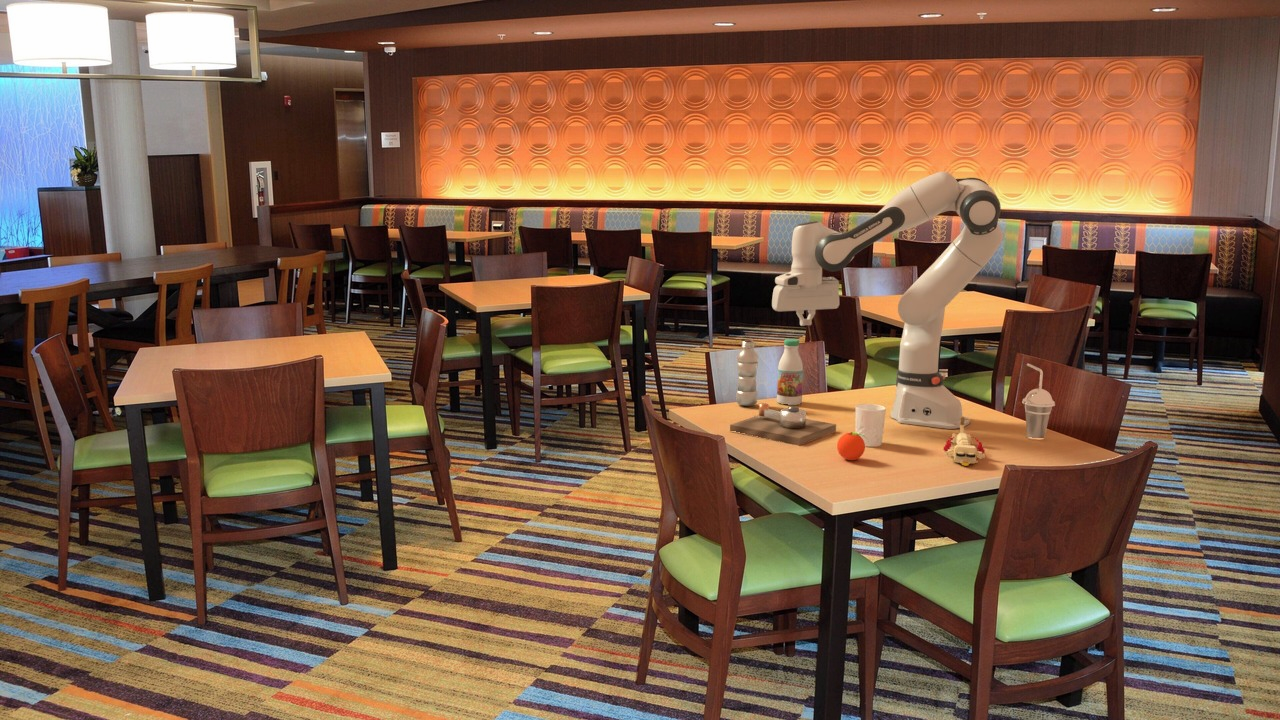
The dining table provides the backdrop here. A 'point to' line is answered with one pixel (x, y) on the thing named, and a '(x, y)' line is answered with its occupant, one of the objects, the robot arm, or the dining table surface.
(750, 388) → the plastic bottle
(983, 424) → the dining table surface
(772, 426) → the walnut stand
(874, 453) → the dining table surface
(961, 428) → the blocky toy figure
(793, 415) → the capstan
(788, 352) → the milk bottle
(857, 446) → the clementine
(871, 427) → the white cup
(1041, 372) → the cup with straw
